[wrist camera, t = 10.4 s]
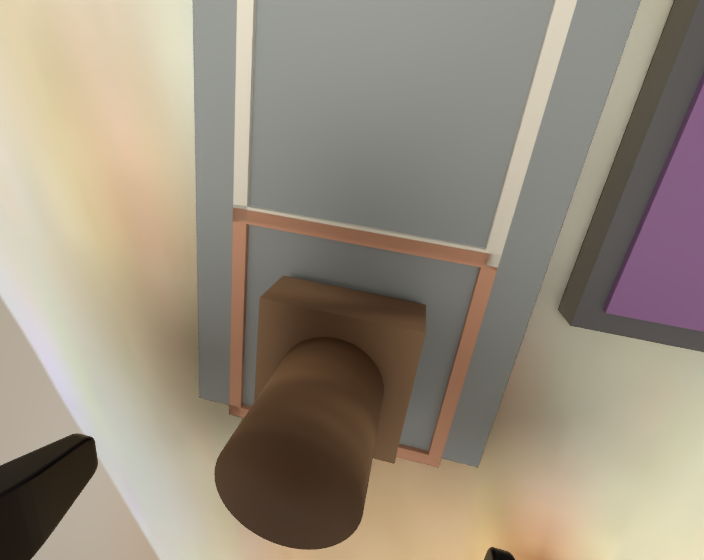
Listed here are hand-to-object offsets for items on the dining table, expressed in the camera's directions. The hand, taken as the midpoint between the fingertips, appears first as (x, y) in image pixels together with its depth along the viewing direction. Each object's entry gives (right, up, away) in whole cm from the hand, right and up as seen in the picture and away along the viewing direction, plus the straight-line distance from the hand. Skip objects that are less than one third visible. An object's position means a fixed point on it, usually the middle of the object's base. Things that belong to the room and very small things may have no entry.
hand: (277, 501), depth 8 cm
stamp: (+1, +2, +6) cm, 7 cm away
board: (+2, +7, +5) cm, 8 cm away
